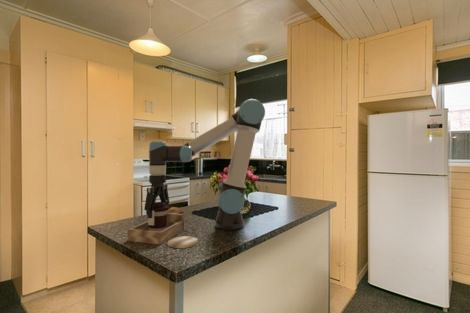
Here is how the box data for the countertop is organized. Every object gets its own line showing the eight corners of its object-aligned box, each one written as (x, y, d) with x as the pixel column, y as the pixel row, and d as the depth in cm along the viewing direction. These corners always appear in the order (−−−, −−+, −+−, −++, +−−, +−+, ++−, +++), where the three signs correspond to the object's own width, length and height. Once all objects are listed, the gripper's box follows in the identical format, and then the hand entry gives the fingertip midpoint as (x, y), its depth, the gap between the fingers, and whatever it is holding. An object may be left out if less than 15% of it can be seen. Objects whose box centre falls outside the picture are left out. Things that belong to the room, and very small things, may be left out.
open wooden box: (183, 230, 129) (183, 214, 128) (161, 244, 108) (161, 225, 108) (155, 227, 133) (154, 212, 133) (127, 240, 113) (127, 222, 113)
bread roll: (167, 221, 157) (162, 210, 156) (182, 213, 161) (177, 202, 159) (170, 226, 148) (164, 214, 147) (186, 217, 152) (180, 205, 150)
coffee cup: (171, 236, 119) (171, 203, 119) (150, 240, 114) (150, 206, 114) (164, 230, 128) (164, 200, 127) (144, 234, 122) (144, 202, 122)
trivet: (202, 239, 115) (202, 237, 115) (190, 249, 103) (190, 248, 103) (176, 236, 119) (176, 235, 119) (161, 246, 106) (161, 244, 106)
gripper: (163, 172, 132) (163, 215, 132) (135, 176, 110) (135, 228, 111) (176, 172, 130) (176, 216, 130) (150, 176, 108) (150, 229, 109)
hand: (157, 221), depth 121 cm, fingers closed on coffee cup, 10 cm apart
